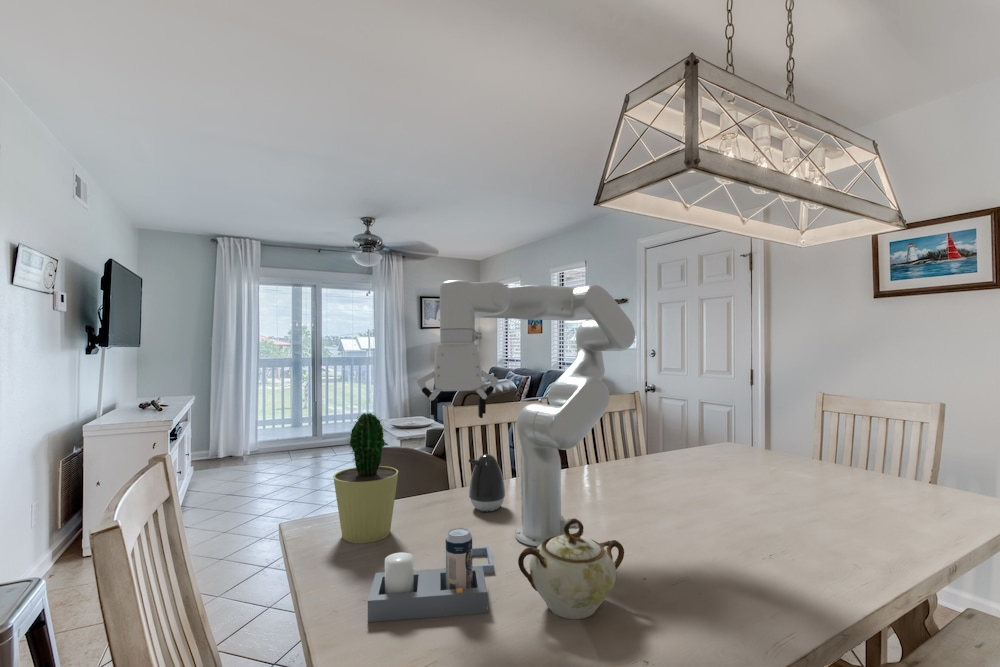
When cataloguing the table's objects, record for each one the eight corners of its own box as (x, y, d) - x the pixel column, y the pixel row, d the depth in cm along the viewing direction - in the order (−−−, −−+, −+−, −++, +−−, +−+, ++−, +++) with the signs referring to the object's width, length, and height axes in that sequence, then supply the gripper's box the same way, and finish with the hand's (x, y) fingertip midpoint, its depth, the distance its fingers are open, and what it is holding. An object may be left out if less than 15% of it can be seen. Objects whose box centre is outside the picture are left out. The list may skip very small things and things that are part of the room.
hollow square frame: (488, 553, 106) (488, 546, 106) (493, 572, 97) (493, 565, 97) (446, 556, 105) (446, 549, 105) (447, 575, 96) (447, 568, 96)
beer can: (475, 603, 86) (475, 535, 86) (449, 608, 84) (449, 538, 84) (468, 590, 90) (468, 525, 91) (443, 595, 89) (443, 529, 89)
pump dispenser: (464, 505, 139) (463, 452, 139) (498, 501, 142) (497, 449, 143) (474, 517, 129) (473, 459, 130) (510, 512, 133) (510, 456, 133)
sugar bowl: (605, 579, 94) (604, 501, 94) (646, 621, 79) (644, 529, 80) (507, 592, 89) (506, 510, 90) (531, 640, 75) (530, 542, 75)
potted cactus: (330, 528, 122) (330, 409, 123) (391, 519, 128) (391, 405, 129) (336, 552, 108) (336, 417, 109) (404, 540, 114) (404, 412, 115)
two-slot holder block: (482, 584, 92) (482, 542, 93) (487, 612, 83) (487, 565, 83) (375, 591, 90) (375, 548, 90) (367, 622, 80) (367, 573, 80)
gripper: (495, 338, 109) (496, 414, 109) (417, 338, 107) (418, 416, 106) (499, 337, 102) (500, 419, 101) (416, 338, 99) (416, 421, 99)
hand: (458, 417), depth 104 cm, fingers open, 9 cm apart
